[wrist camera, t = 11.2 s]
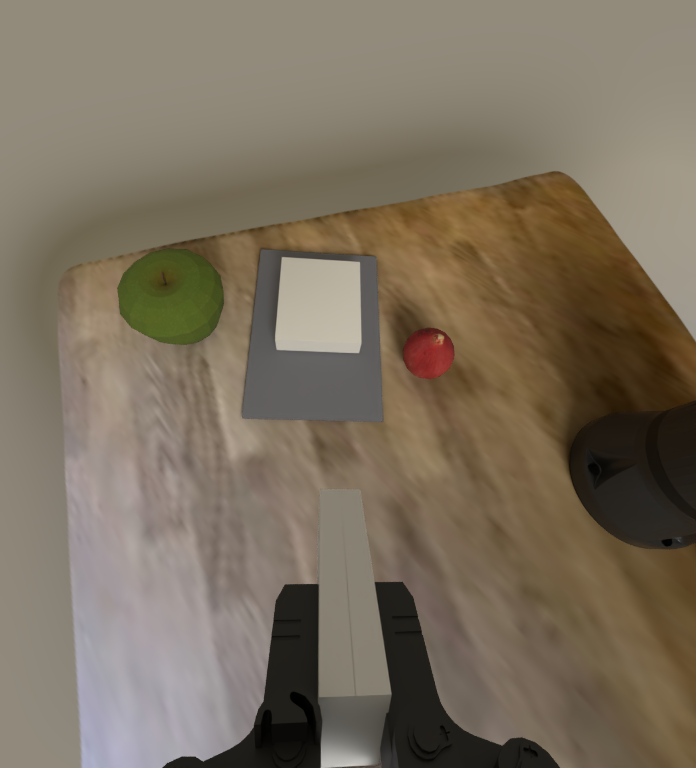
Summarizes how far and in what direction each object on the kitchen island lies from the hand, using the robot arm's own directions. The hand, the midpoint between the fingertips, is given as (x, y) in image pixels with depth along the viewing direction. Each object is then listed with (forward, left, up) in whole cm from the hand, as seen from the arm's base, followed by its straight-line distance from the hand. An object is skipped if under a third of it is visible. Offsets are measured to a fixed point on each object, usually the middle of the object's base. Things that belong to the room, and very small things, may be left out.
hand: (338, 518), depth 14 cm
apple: (-2, -29, -26) cm, 39 cm away
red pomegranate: (-21, -7, -26) cm, 35 cm away
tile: (-12, -16, -24) cm, 31 cm away
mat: (-14, -19, -26) cm, 35 cm away
